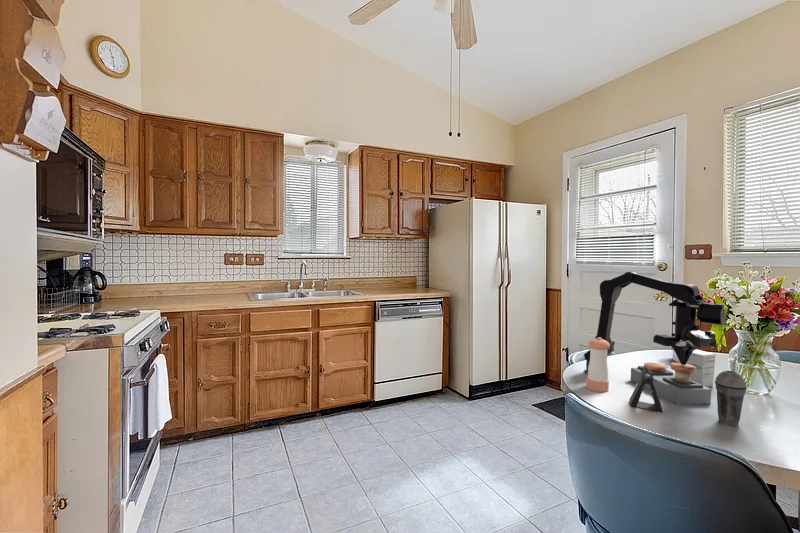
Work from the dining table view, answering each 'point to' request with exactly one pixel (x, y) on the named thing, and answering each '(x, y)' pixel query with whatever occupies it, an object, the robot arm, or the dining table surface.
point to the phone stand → (638, 390)
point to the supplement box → (702, 367)
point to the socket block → (674, 387)
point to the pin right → (683, 372)
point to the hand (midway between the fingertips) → (683, 364)
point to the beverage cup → (730, 396)
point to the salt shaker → (598, 366)
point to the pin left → (655, 367)
